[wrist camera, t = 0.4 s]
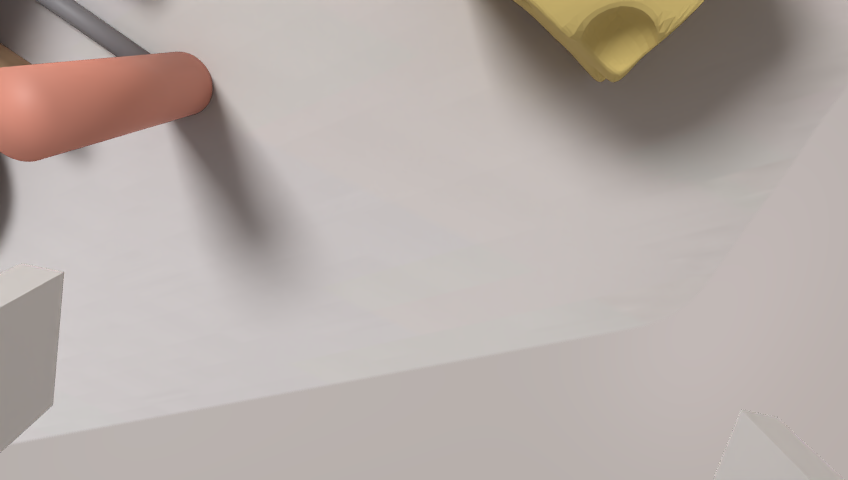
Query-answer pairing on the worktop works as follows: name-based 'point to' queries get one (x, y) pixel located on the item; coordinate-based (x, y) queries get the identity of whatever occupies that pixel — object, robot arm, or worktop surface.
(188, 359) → the worktop surface
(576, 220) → the worktop surface
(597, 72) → the cheese
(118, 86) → the block
